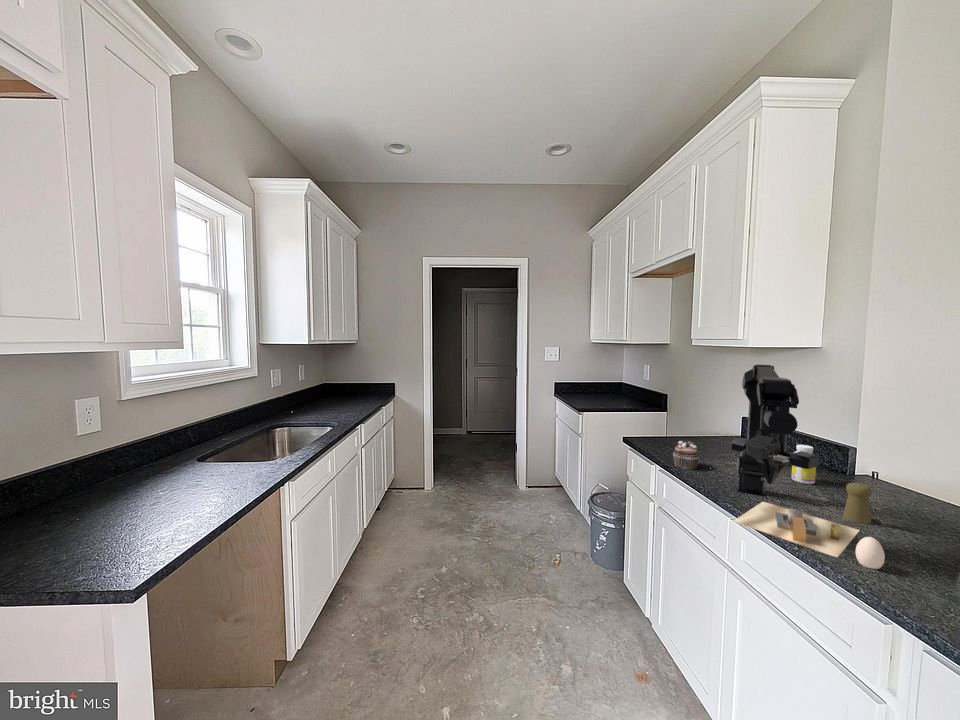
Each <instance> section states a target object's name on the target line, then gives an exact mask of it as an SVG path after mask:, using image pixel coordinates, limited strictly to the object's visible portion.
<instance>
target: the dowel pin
mask: <svg viewBox="0 0 960 720" xmlns="http://www.w3.org/2000/svg"><path fill="white" fill-rule="evenodd" d="M834 523H835V522H834ZM834 523H832V524H831V534H830V538H832V539H835V540H839V528H840V526H839V525H838V524H839V523H837V524H834Z"/></svg>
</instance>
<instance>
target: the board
mask: <svg viewBox="0 0 960 720" xmlns="http://www.w3.org/2000/svg"><path fill="white" fill-rule="evenodd" d="M776 512H778V513H783V514H788V521H787V520H784V522H785V523H789V524H791V516H796V517H800V518H802V517H803V518H808V519H812V521H813V523H814V526H815V529H816V531H817V532H816V536H814V535H809V534H806V539H805V543H803V542H799V541H795V540H793V538H792V534H791V530H787V529H782V528H778V527H777V522H776V517H775V514H776ZM732 522H734V523H736V524H740V525H742V526H745V527H748V528H751V529H754V530H756V531H760V532H763V533H764V534H768V535H771V536H774V537H777V538H779V539H783V540H786V541H788V542H790V543H794V544H797V545H799V546H803V547H804V548H805V547H806V548H808V549H811V550H813V551H817V552H820V553H822V554H826V555H827V556H832V557H834V558H839V557H840V555H841V554H842V553H843V552H844V550H845V549H846V548H847V546H849V544H850V543H851V542H852V541H853V539H854V538H855V537H856V535H858V533H859V532H860V529H857V528H854V527H851V526H847V525H843V524H840V523H837V522H834V521H830V520H826V519H824V518H820V517H816V516H813V515H810V514H807V513H805V512H804V513H803V511H801V510H799V509H796V508H786V507H782V506H779V505H776V504H772V503H769V502H766V501H761V502H760V503H758V504H756V505H754V507H752V508H751V509H749V510H748V511H746V512H744V513H743V514H741V515H740V516H738V517H737V518H736V519H733V520H732ZM832 523H834V524H838V525H839V526H840V528H839V540H835V539H832V538H830V534H831V524H832Z"/></svg>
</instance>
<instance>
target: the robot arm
mask: <svg viewBox="0 0 960 720" xmlns="http://www.w3.org/2000/svg"><path fill="white" fill-rule="evenodd" d="M741 382H742V384H741V385H742V386H741V387H742V389H743V390H744V391H743V392H744V395H745V397H747V400H748V402H749V403H748V414H747V415H748V417H747V420H748V421H747V433H746V434H747V435H746V438H745V437H740V438H735V439H732V441H731V442H730V450H731V451H732V450H733V451H736V452H740V453H739V454H740V455H738V456H737V459H736V464H735V465H736V466H735V468H736V469H735V471H736V472H737V475H738V477H739V478H738V481H739V482H738V488H737V489H736V492H739V493H744V494H748V495H753V496H760V497H761V496H763V495H765V494H766V487H767V484H768V485H773V484H774V483H775V481H776V479H777V478H778V476H779V475H780V473H781V472H782V471H783V469H784V468H785V467H786V465H789V464H791V467H792V466H796V467H800V468H804V469H810V468H814V467H816V468H818V467H819V466H820V457H818V455H817V454H814V453H812V454H811V453H806V452H802V451H799V452H796V451H794V452H795V453H794V452H788V450H789V445H787V437H788V436H789V435H790V434H792V433H794V432H795V431H796V430H797V428H798V419H797V418H796V417H795V415H794V414H792V413H791V412H790V409H797V408H798V405H799V403H800V399H799V395H798V390H797V388H796V386H795V384H794V383H792V381H791V380H790V379H789V378H783V377H780V376H779V375H778V373H777V372H776V370H775V366H774V365H772V364H755V365H753V366H752V368H751V369H749V370H748V371H746V372H744V374H743V377H742V380H741Z"/></svg>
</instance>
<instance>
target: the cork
mask: <svg viewBox="0 0 960 720" xmlns="http://www.w3.org/2000/svg"><path fill="white" fill-rule="evenodd" d="M845 491H846V493H847V498H846V502H845V507H844V510H843V513H842V518H844V519H846V520H847V521H850V522H853V523H856V524H863V525H871V524H872V518H871V509H870V507H871V506H870V502H869V501H870V500H869V499H870V498H871V496H872V494H873V492H872V489H871V488H870V486H868V485H866V484H862V483H857V482H850V483H848V484H846V486H845Z"/></svg>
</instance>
